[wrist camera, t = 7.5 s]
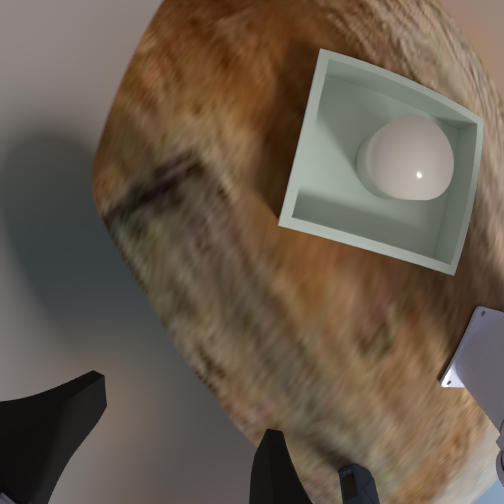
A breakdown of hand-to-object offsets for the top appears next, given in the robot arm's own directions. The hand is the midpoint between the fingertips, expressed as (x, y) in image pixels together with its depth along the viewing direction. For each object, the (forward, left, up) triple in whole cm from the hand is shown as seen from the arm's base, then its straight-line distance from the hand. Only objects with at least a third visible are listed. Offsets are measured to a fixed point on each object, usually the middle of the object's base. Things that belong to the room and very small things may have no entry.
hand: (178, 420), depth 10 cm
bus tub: (-8, -13, -10) cm, 19 cm away
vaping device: (-18, +16, -11) cm, 26 cm away
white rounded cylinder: (-8, -13, -10) cm, 18 cm away
